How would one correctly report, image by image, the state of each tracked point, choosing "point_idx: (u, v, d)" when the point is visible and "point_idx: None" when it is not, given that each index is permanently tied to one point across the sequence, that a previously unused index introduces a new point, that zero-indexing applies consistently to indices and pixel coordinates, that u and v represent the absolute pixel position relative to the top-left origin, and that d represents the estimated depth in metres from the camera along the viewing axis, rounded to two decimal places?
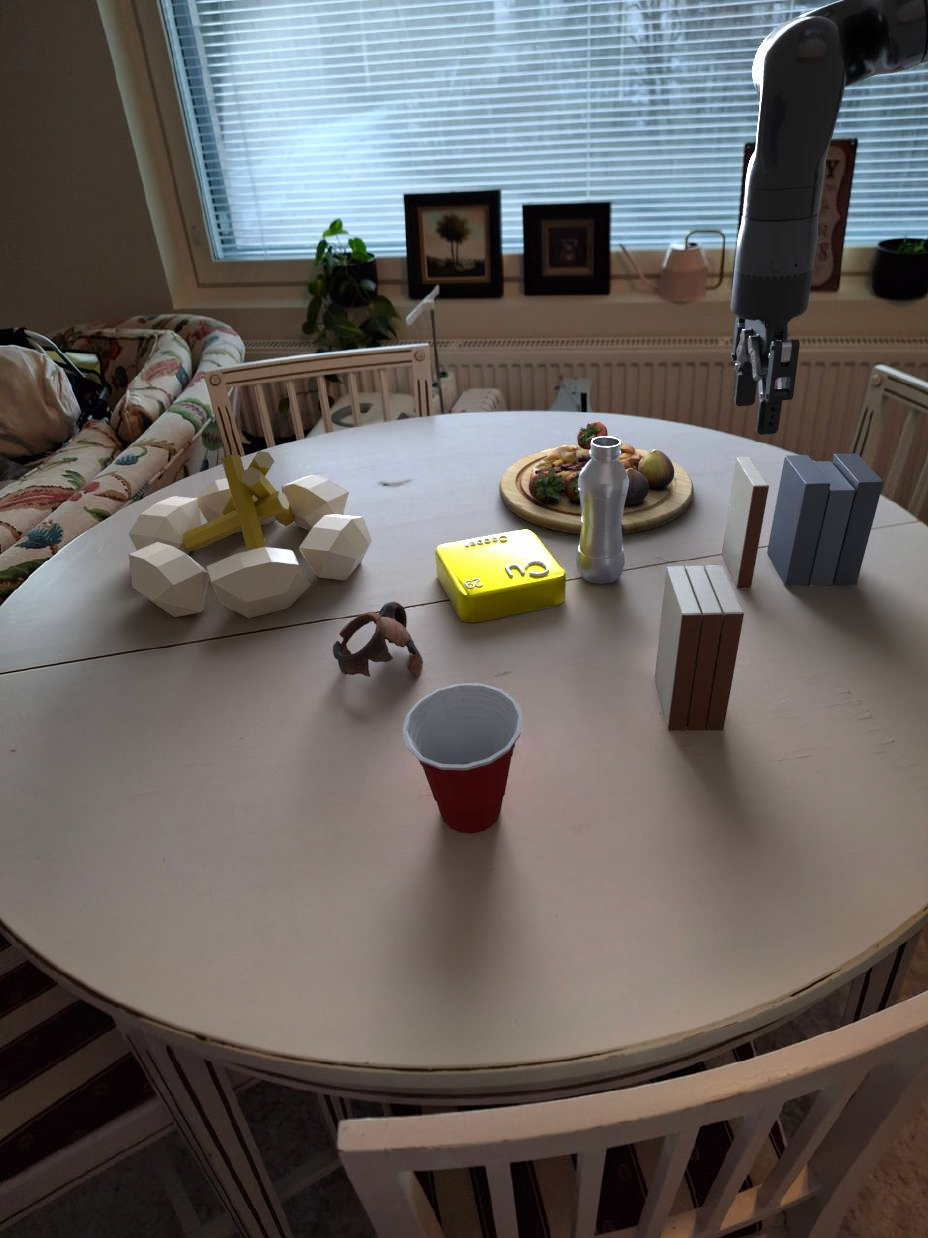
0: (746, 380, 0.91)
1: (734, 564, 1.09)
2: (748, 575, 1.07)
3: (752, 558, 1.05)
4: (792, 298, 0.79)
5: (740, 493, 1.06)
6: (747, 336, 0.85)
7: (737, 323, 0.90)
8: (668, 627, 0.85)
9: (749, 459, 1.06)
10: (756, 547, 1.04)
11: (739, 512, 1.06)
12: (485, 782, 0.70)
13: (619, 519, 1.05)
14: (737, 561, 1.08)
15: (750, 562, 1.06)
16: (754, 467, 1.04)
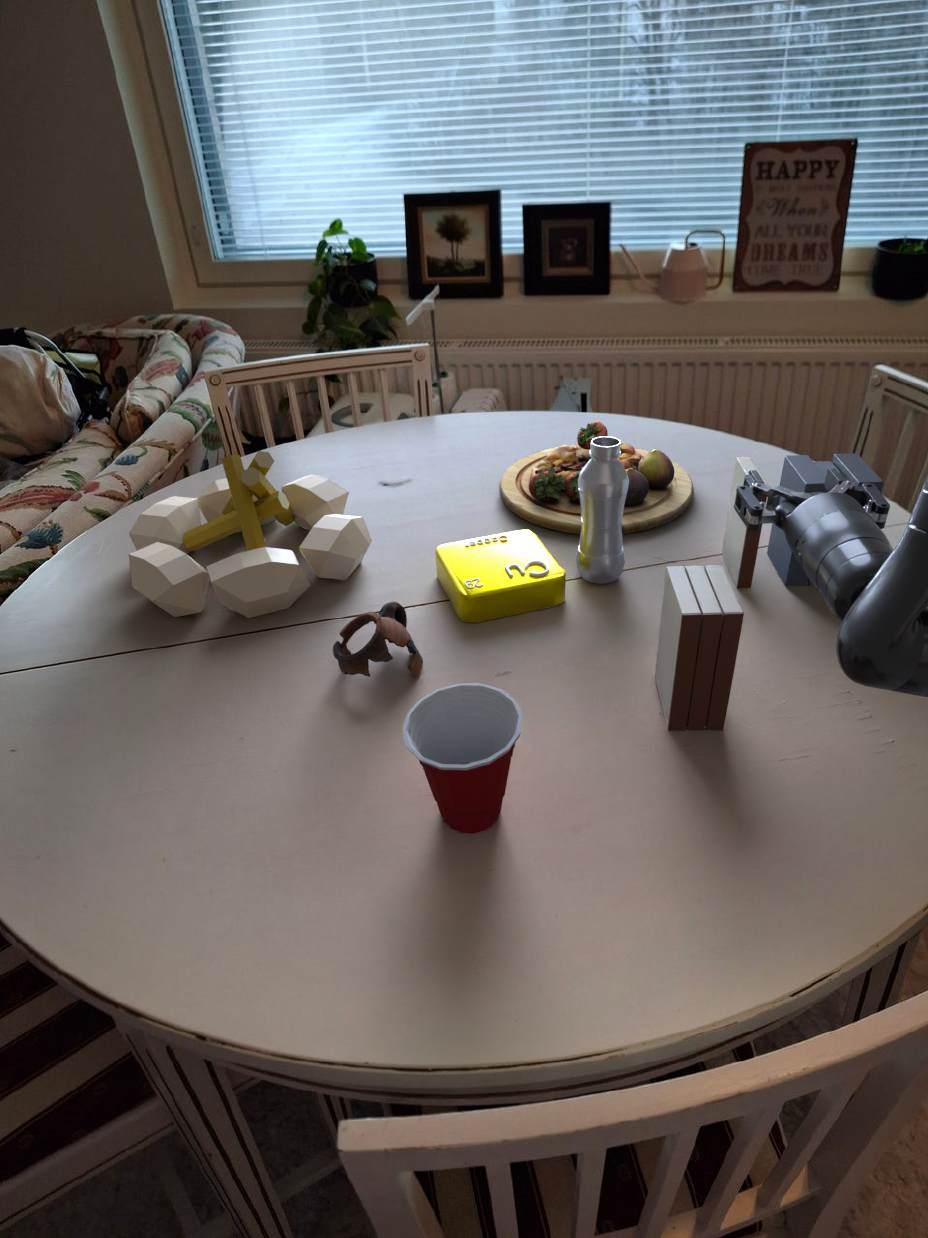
0: None
1: (734, 564, 1.09)
2: (748, 575, 1.07)
3: (752, 558, 1.05)
4: None
5: None
6: None
7: None
8: (668, 627, 0.85)
9: (749, 459, 1.06)
10: (756, 547, 1.04)
11: None
12: (485, 782, 0.70)
13: (619, 519, 1.05)
14: (737, 561, 1.08)
15: (750, 562, 1.06)
16: (754, 467, 1.04)
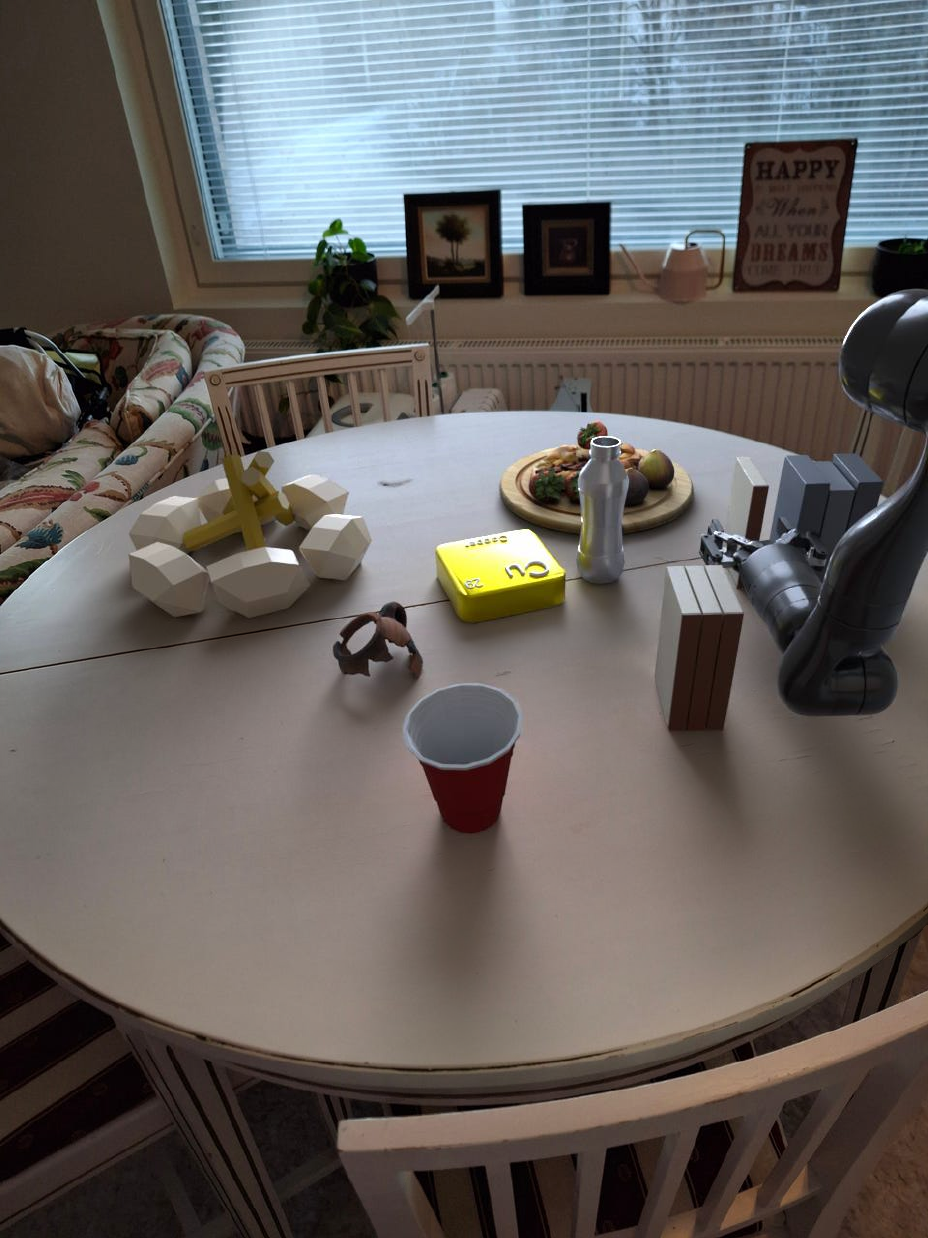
0: None
1: None
2: None
3: None
4: None
5: (740, 493, 1.06)
6: None
7: None
8: (668, 627, 0.85)
9: (749, 459, 1.06)
10: None
11: (739, 512, 1.06)
12: (485, 782, 0.70)
13: (619, 519, 1.05)
14: None
15: None
16: (754, 467, 1.04)
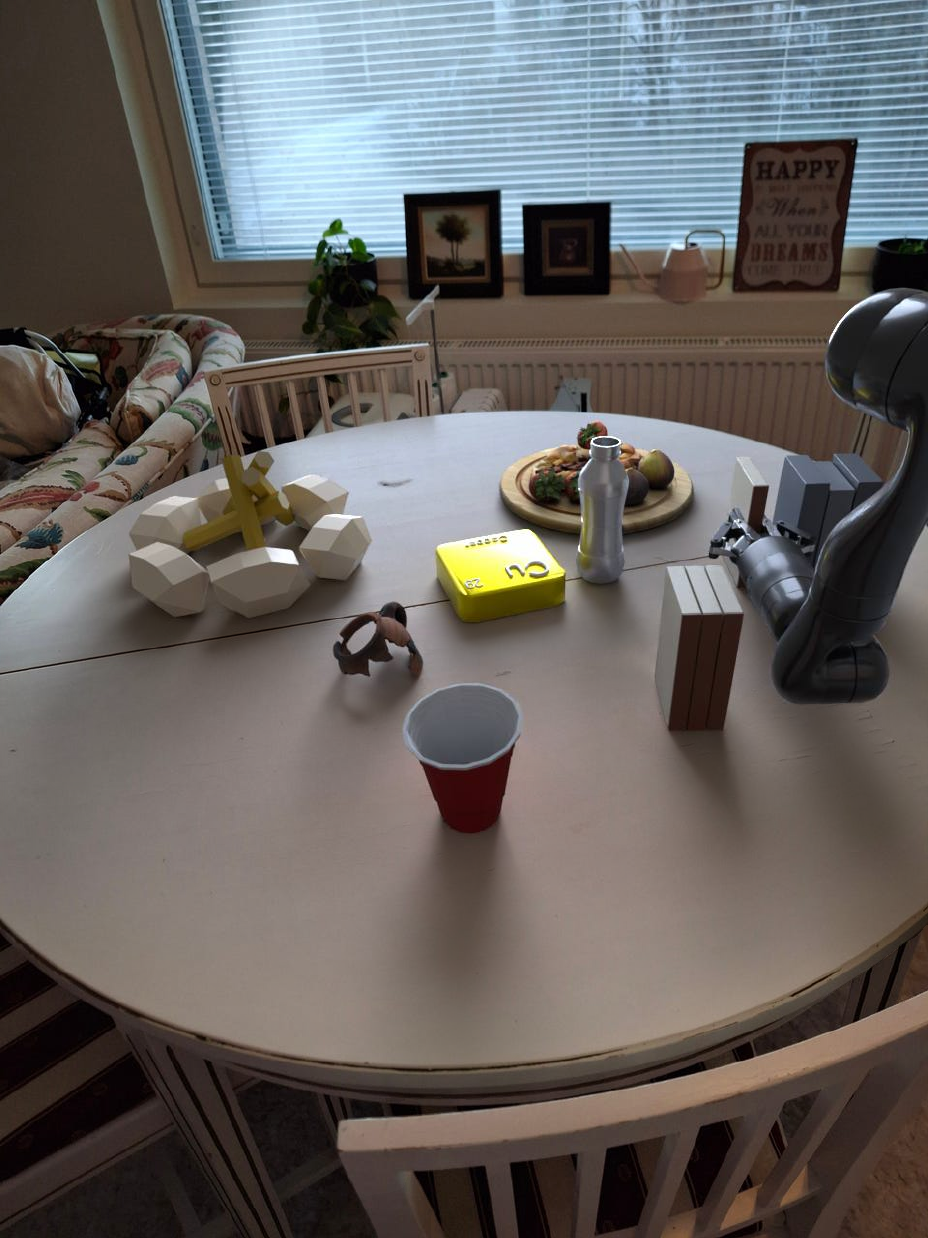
0: None
1: (734, 564, 1.09)
2: None
3: None
4: None
5: (740, 493, 1.06)
6: None
7: None
8: (668, 627, 0.85)
9: (749, 459, 1.06)
10: None
11: None
12: (485, 782, 0.70)
13: (619, 519, 1.05)
14: None
15: None
16: (754, 467, 1.04)
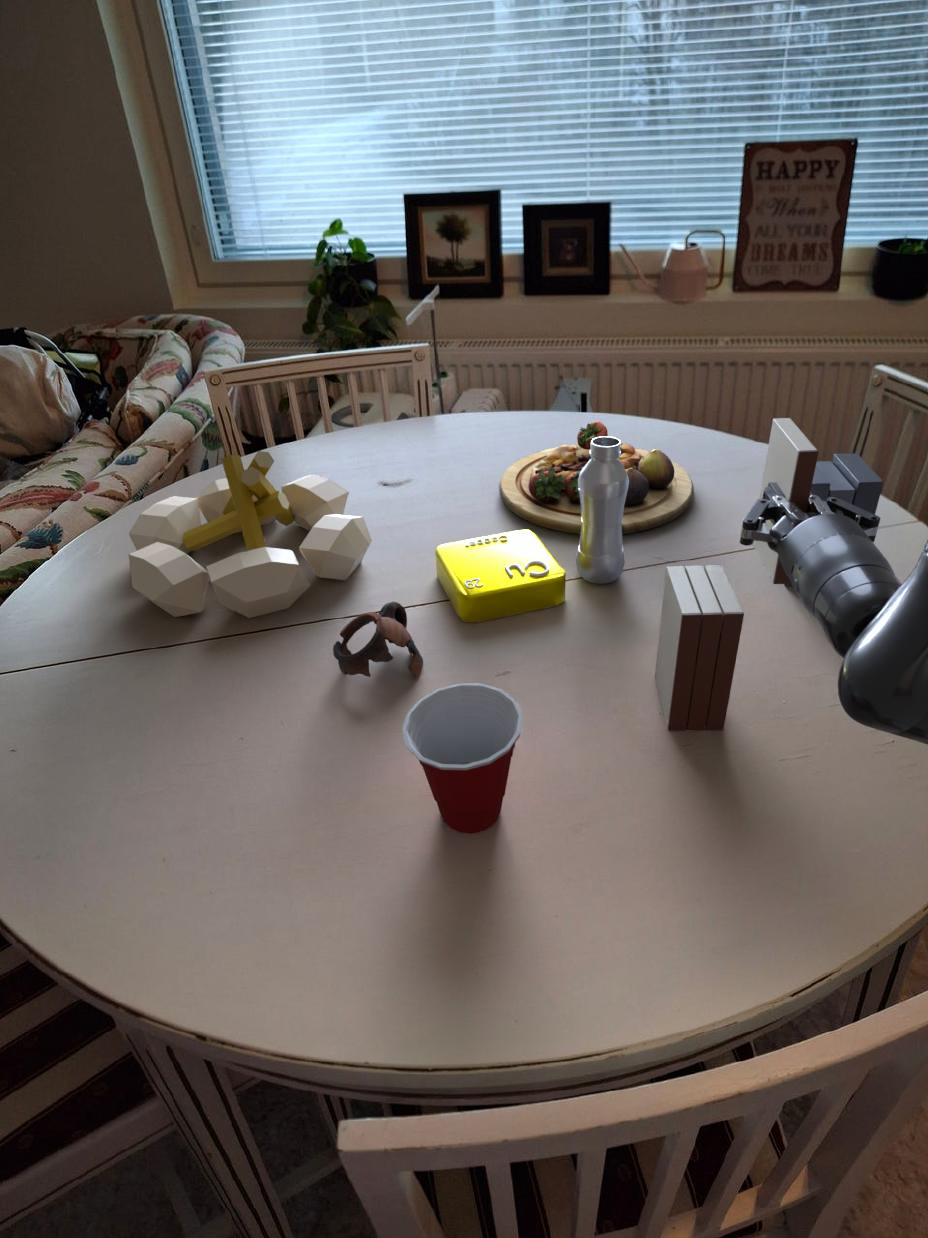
0: None
1: (769, 553, 0.87)
2: None
3: None
4: None
5: (778, 463, 0.83)
6: None
7: None
8: (668, 627, 0.85)
9: (790, 420, 0.84)
10: None
11: None
12: (485, 782, 0.70)
13: (619, 519, 1.05)
14: None
15: None
16: (797, 429, 0.82)
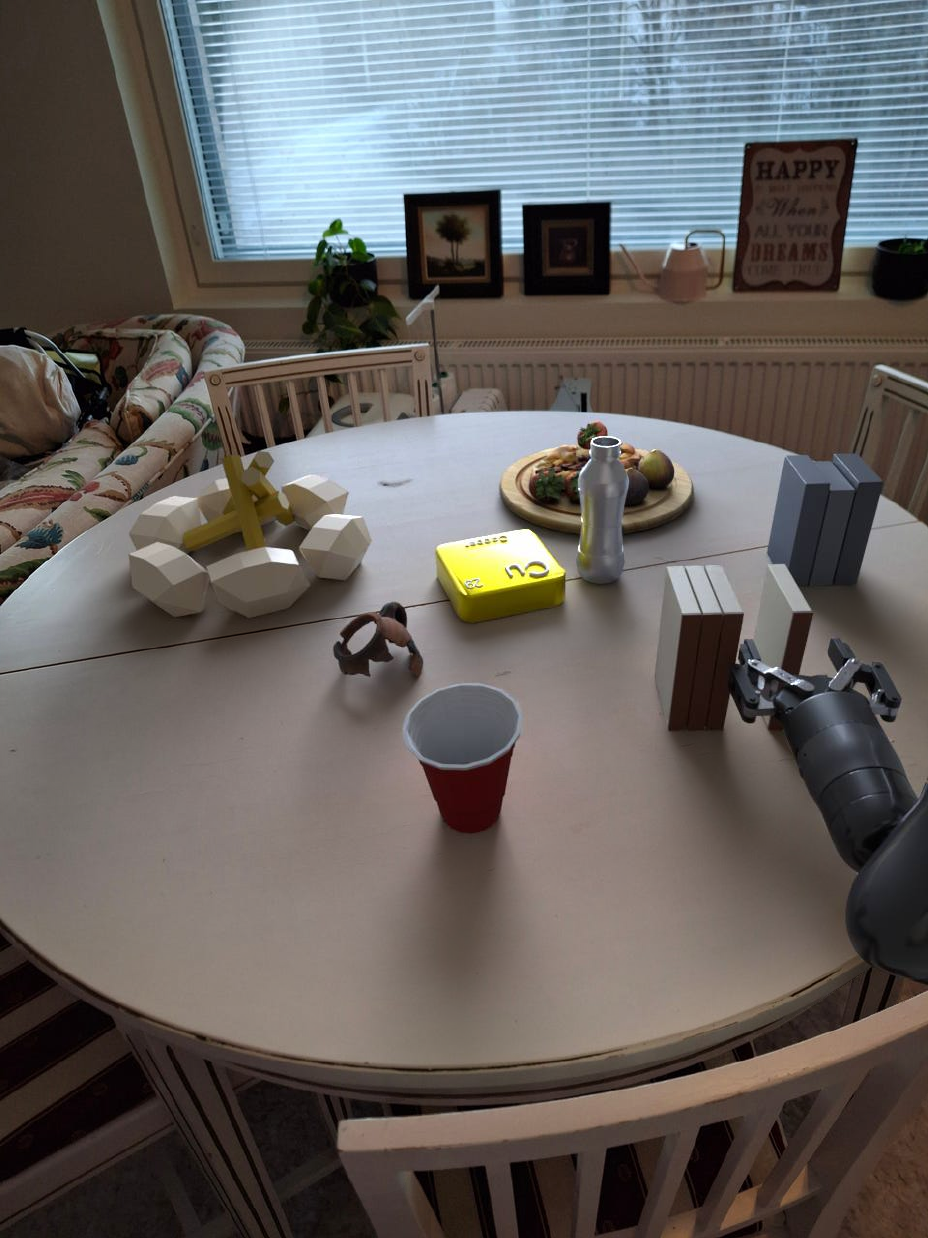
0: None
1: None
2: None
3: None
4: None
5: (773, 612, 0.83)
6: None
7: None
8: (668, 627, 0.85)
9: (784, 568, 0.83)
10: None
11: (771, 636, 0.83)
12: (485, 782, 0.70)
13: (619, 519, 1.05)
14: None
15: None
16: (792, 581, 0.81)
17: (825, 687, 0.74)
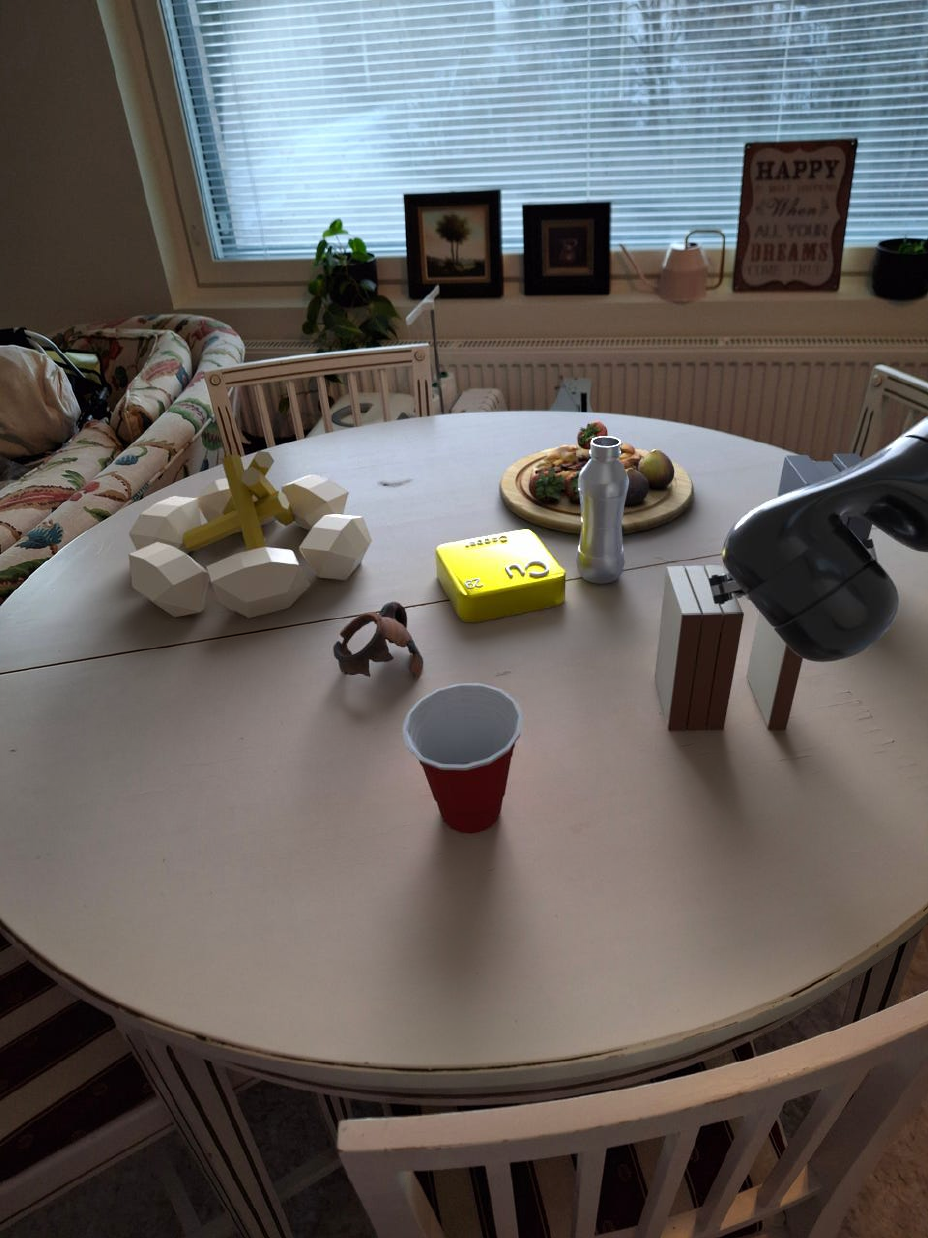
0: None
1: (764, 697, 0.86)
2: (783, 715, 0.84)
3: (789, 696, 0.82)
4: None
5: None
6: None
7: None
8: (668, 627, 0.85)
9: None
10: (794, 683, 0.82)
11: (771, 636, 0.83)
12: (485, 782, 0.70)
13: (619, 519, 1.05)
14: (769, 696, 0.85)
15: (786, 700, 0.83)
16: None
17: None
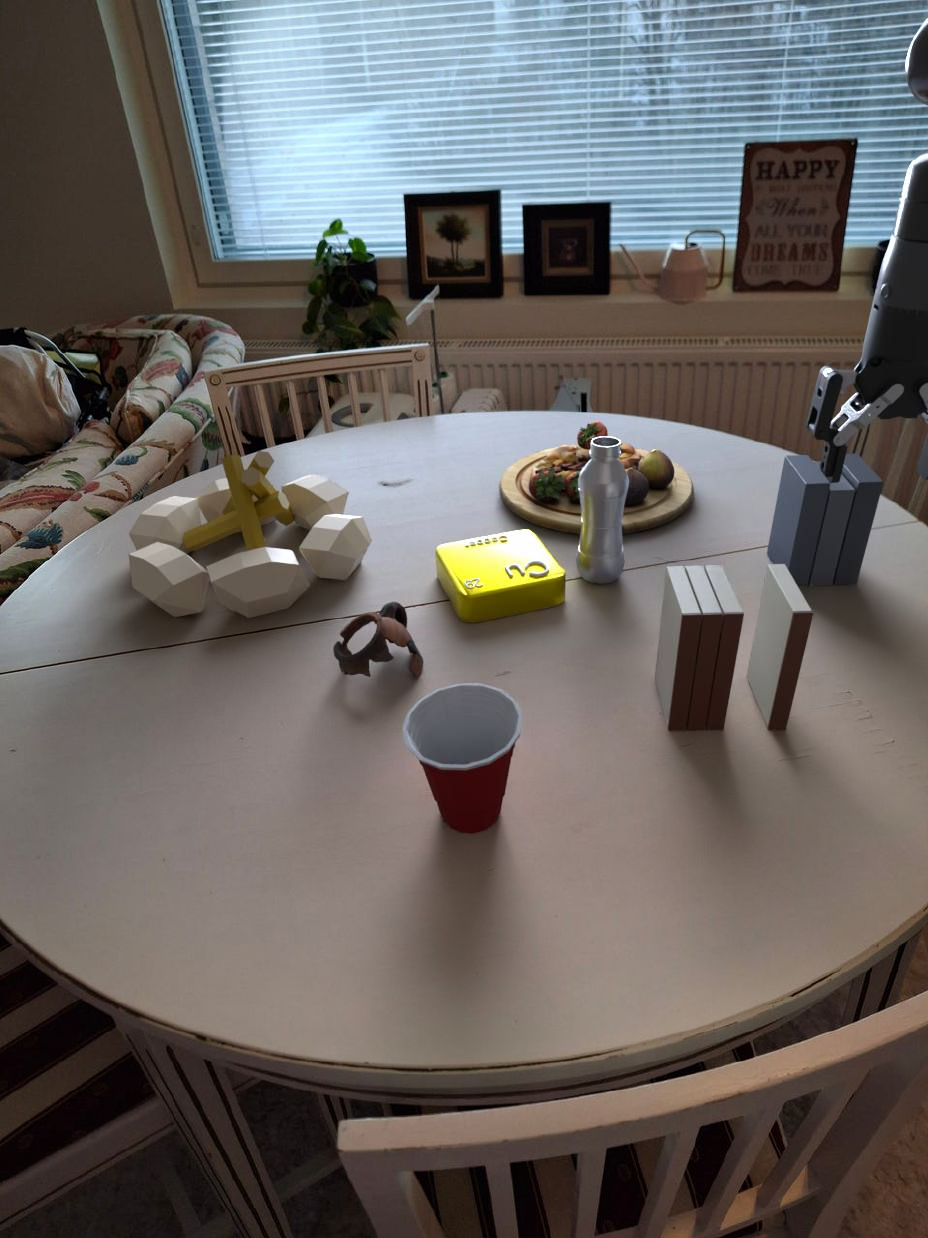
0: None
1: (764, 697, 0.86)
2: (783, 715, 0.84)
3: (789, 696, 0.82)
4: None
5: (773, 612, 0.83)
6: None
7: (835, 391, 0.69)
8: (668, 627, 0.85)
9: (785, 568, 0.83)
10: (794, 683, 0.82)
11: (771, 636, 0.83)
12: (485, 782, 0.70)
13: (619, 519, 1.05)
14: (769, 696, 0.85)
15: (786, 700, 0.83)
16: (792, 581, 0.81)
17: None
